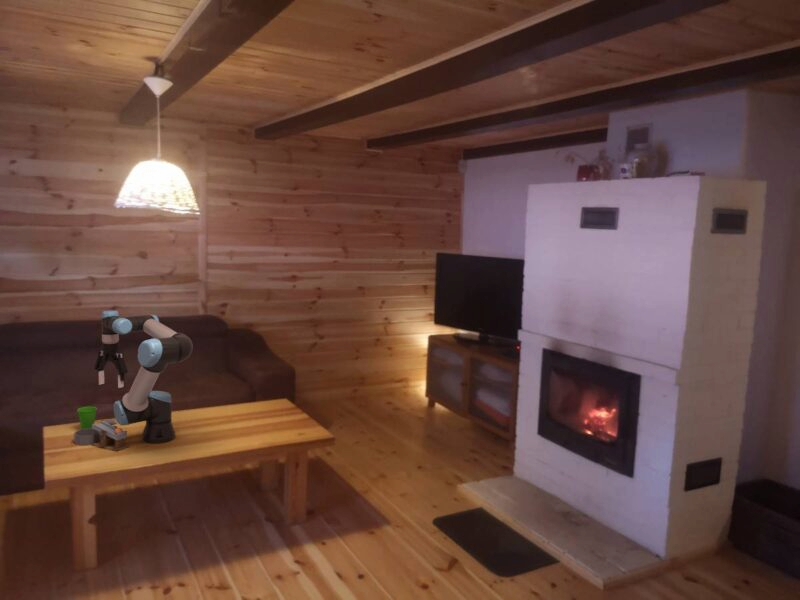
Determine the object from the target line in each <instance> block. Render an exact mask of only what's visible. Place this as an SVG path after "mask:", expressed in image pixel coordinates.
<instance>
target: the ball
mask: <svg viewBox="0 0 800 600" xmlns="http://www.w3.org/2000/svg"><path fill="white" fill-rule="evenodd" d="M123 431H124V430H123V428H121V427H118V428H116V429H115V434H116V435H117V434H119V433H121V432H123Z"/></svg>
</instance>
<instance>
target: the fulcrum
mask: <svg viewBox="0 0 800 600" xmlns="http://www.w3.org/2000/svg"><path fill="white" fill-rule="evenodd" d="M113 426H114V427H116V428H119V427H118V426H116V425H113ZM90 446H92V447H95V448H100V449H104V450H108V451H112V452H116V453H118V452H119V451H122V450H124V449H127V448H129V447H130V445H129V444H126V437H125V438H123V439H120V440H118V441H117V440H115V439H113V438H111V437H109V436H107V435H106V431H105V430H101V441H98V442H95V443H93V444H91V445H90Z"/></svg>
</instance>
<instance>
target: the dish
mask: <svg viewBox="0 0 800 600" xmlns="http://www.w3.org/2000/svg"><path fill="white" fill-rule="evenodd" d="M98 441H101V432H98V431H96V430H94V429H92V428H87V429H81V428H80V429H79V430H76V431H74V432H73V443H74V444H75V445H77V446H91V444H93V443H95V442H98Z"/></svg>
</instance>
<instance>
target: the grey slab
mask: <svg viewBox="0 0 800 600" xmlns="http://www.w3.org/2000/svg"><path fill="white" fill-rule="evenodd" d="M116 424H118V422H117V421H116V420H113V419H108V420H105V421H104V420H101V421H100V423H97V424H95V423H94V424H92V429H94V430H96V431H98V432H101V430H105V431H106V435H107V436H109V437H111V438H113V439H115V440H117V441H118V440H120V439H123V438H125V439H126V438H127V437H128V435H127V434H128V431H127V430H123V432H121V433H119V434H117V435H116V434H115V429H116V427H114V426H116Z"/></svg>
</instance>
